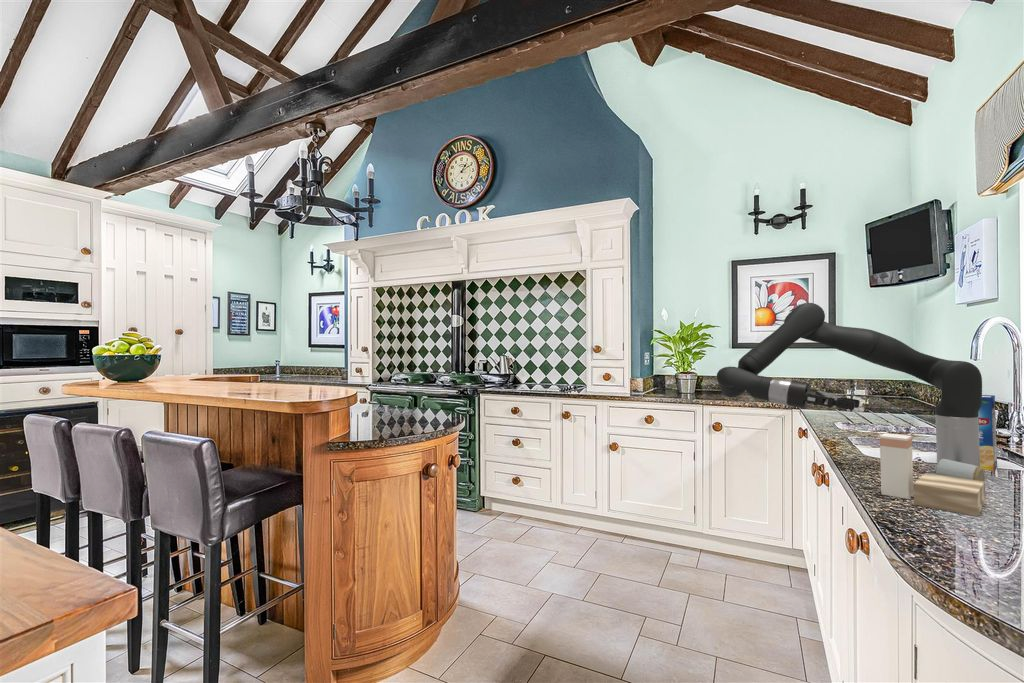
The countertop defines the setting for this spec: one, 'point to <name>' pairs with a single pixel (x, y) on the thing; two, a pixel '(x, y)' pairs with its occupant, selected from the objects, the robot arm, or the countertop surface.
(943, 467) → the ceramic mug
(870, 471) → the countertop surface
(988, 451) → the blue pasta box
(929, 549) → the countertop surface
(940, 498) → the tan wooden block
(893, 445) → the carton
